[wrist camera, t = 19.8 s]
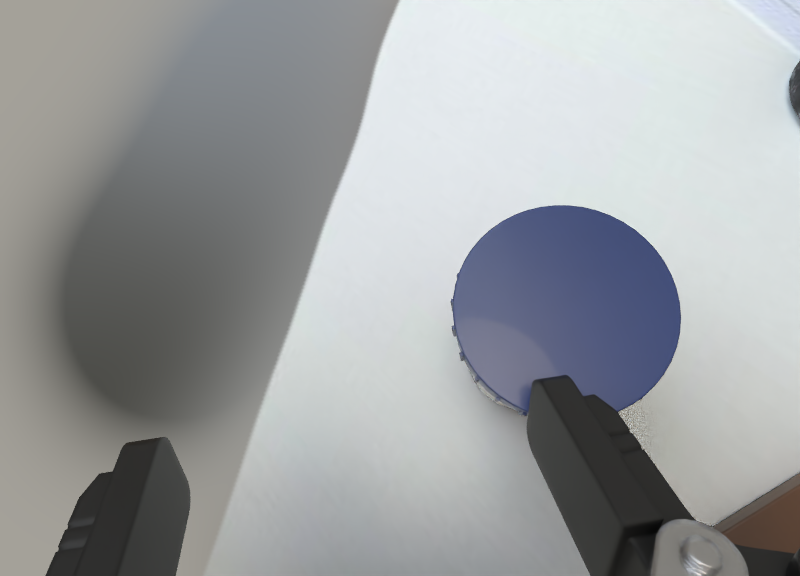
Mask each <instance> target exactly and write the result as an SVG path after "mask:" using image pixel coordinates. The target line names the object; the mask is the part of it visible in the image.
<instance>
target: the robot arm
mask: <svg viewBox="0 0 800 576" xmlns="http://www.w3.org/2000/svg"><path fill="white" fill-rule="evenodd" d="M527 435H528V441H529V445H530V448H531V451H532V453H533V455H534V457H535V459H536V462H537V464H538V466H539V468H540V470H541V472H542V474H543V476H544V478H545V481H546V483H547V485H548V487H549V489H550V491H551V493H552V495H553V497H554V500H555V502H556V504H557V506H558V508H559V510H560V512H561V514H562V516H563V518H564V521H565V523H566V525H567V527H568V529H569V531H570V533H571V535H572V537H573V540H574V542H575V544H576V546H577V548H578V550H579V552H580V554H581V556H582V559H583V561H584V563H585V565H586V567H587V569H588V571H589V573H590V575H591V576H800V548H799V549H798V551H797V552H796V553H788V552H781V551H774V550H767V549H759V548H752V547H746V546H741V545H737V544H734V543H732V542H731V541H730V540H729V539H728V538H727V537H726V536H724V535H723V534H722V533H720V532H719V531H717V530H716V529H714V528H712V527H710V526H708V525H706V524H704V523H701V522H698V521H696V520H695V519H694V518H693V517H692V516H691V515H690V513H689V512H688V511H687V510H686V508H685V507H684V505H683V504H682V502H681V501H680V500H679V498H678V497H677V495H676V494H675V493H674V491H673V490H672V488H671V487H670V486H669V484H668V483H667V481H666V480H665V479H664V477H663V476H662V474H661V473H660V472H659V470H658V469H657V467H656V466H655V465H654V463H653V462H652V460H651V459H650V458H649V456H648V455H647V453H646V452H645V450H642V449H641V445H640V443H639V442H638V441H637V439H636V438H635V436H634V435H633V434H632V433H630V431H629V428H628V427H627V425H626V424H625V422H624V421H623V420H622V418H621V417H620V415H619V414H618V413H617V411H616V410H615V409H614V408H613V407H611V406H610V405H608V404H607V403H606V402H604V401H603V400H602V399H600V398H599V397H598V396H596V395H595V394H593V395H587V396H583V395H582V394H581V392H580V391H579V389H578V387H577V386H576V384H575V383H574V381H573V380H572V379H571V378H570V377H569V376H568V375H561V376H555V377H549V378H542V379H536V380H534V381H533V382H532V386H531V395H530V403H529V411H528V419H527ZM189 510H190V489H189V484H188V481H187V478H186V476H185V474H184V472H183V469H182V467H181V465H180V463H179V461H178V459H177V456H176V454H175V452H174V450H173V447H172V445H171V443H170V441H169V440H168V438H166V437H160V438H154V439H148V440H141V441H135V442H129V443H126V444H125V445H124V446H123V448H122V450H121V452H120V454H119V457H118V459H117V462H116V465H115V468H114V470H113V472H107V473H101V474H99V475H98V476H97V477H96V478H95V480H94V481H93V482H92V483H91V484H90V486H89V487H88V488H87V489H86V490H85V492H84V493H83V494H82V495H81V496H80V497H79V499H78V501H77V504H76V506H75V508H74V511H73V513H72V515H71V518H70V520H69V522H68V529H67V530H65V532H64V534H63V536H62V539H61V541H60V543H59V546H58V547H59V550H58V552H56V553H55V555H54V557H53V560H52V562H51V564H50V567H49V569H48V571H47V574H46V576H176V571H177V567H178V562H179V557H180V553H181V548H182V543H183V538H184V533H185V529H186V524H187V520H188V515H189Z"/></svg>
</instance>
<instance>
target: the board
mask: <svg viewBox="0 0 800 576" xmlns="http://www.w3.org/2000/svg"><path fill="white" fill-rule="evenodd" d="M712 528H714V529H716V530H717V531H719V532H720V533H722V534H723V535H724V536H726V537H727V538H728V539H729V540H730V541H731V542H732V543H734V544H737V545H741V546H746V547H752V548H759V549H767V550H774V551H781V552H788V553H796V552H797V551H798V549H799V548H800V473H799V474H797V475H796V476H794V477H793V478H791V479H789V480H788V481H786V482H785V483H783V484H781V485H780V486H778V487H777V488H775V489H773V490H772V491H770V492H768V493H767V494H765V495H764V496H762V497H760V498H759V499H757V500H756V501H754V502H752V503H751V504H749V505H748V506H746V507H744V508H743V509H741V510H739V511H738V512H736V513H735V514H733V515H731V516H730V517H728V518H727V519H725V520H723V521H722V522H720V523H719V524H717V525H715V526H714V527H712Z"/></svg>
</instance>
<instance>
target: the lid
mask: <svg viewBox="0 0 800 576" xmlns="http://www.w3.org/2000/svg"><path fill="white" fill-rule="evenodd" d="M451 306H452V311H453V318H454V326H452V331H453V335H454V336H457V341H458V345H459V348H460V351H461V352H460V353H459V354H460V359H461V361H463V360H464V361H465V362H466V364H467V366H468V368H469V370H470V371H471V373H472V374H473V376H474V377H475V378H474V382H475V383H476V384H477V383H478V382H479V383H480V384H481V385H482V386H483V387H484V389H485V390H486V391H488V392H489V393H490V394H491V395H492V396H493V397H495V399H494V401H495V402H498V401H500V402H502V403H503V404H505V405H507V406H508V407H510V408H512V409H515V410H517V411H519V412H518V414H519V415H521V416H526V415H528V411H529V403H530V395H531V386H532V382H533V381H534V380H536V379H542V378H549V377H555V376H561V375H568V376H569V377H570V378H571V379H572V380H573V381H574V383H575V384H576V386H577V387H578V389H579V391H580V392H581V394H582V395H583V396H587V395H593V394H595V395H596V396H598V397H599V398H600V399H602V400H603V401H604V402H606V403H607V404H608V405H610V406H611V407H613V408H614V409H615V410H616V411H617V412H619V411H621V410H623V409H625V408H626V407H628V406H630V405H632V404H634V403H635V402H636V401H638V400H640V399H642V398H643V396H645V395H646V394H647V393H648V392H649V391H650V390H651V389H652V388H653V387H654V386H655V385H656V384H657V382H658V381H659V380H660V379H661V377H662V376H663V375H664V373H665V372H666V370H667V368H668V366H669V364H670V363H671V361H672V358H673V356H674V353H675V350H676V348H677V344H678V339H679V335H680V324H681V313H680V302H679V298H678V293H677V289H676V286H675V283H674V281H673V278H672V275H671V273H670V271H669V270H668V268H667V266H666V264H665V262H664V261H663V259H662V258H661V256H660V255H659V254H658V252H657V251H656V250H655V248H654V247H653V246H652V245H651V244H650V243H649V242H648V241H647V240H646V239H645V238H644V237H643V236H642V235H640V234H639V233H638V232H637V231H636V230H634V229H633V228H631V227H630V226H628V225H627V224H625V223H624V222H622V221H620V220H618V219H616V218H614V217H612V216H610V215H607V214H605V213H602V212H599V211H596V210H592V209H588V208H584V207H577V206H546V207H539V208H535V209H531V210H527V211H524V212H521V213H519V214H516V215H513V216H512V217H510V218H508V219H506V220H504V221H502V222H501V223H499V224H498V225H496V226H495V227H493V228H492V229H491V230H489V231H488V232H487V233H486V234H485V235H484V236H483V237H482V238H481V239H480V240H479V241H478V242H477V243H476V245H475V246H474V247H473V248H472V250H471V251H470V252H469V254H468V256H467V257H466V259H465V261H464V263H463V265H462V267H461V270H460V272H459V273H458V274H457V281H456V285H455V290H454V296H453V299H451Z"/></svg>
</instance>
